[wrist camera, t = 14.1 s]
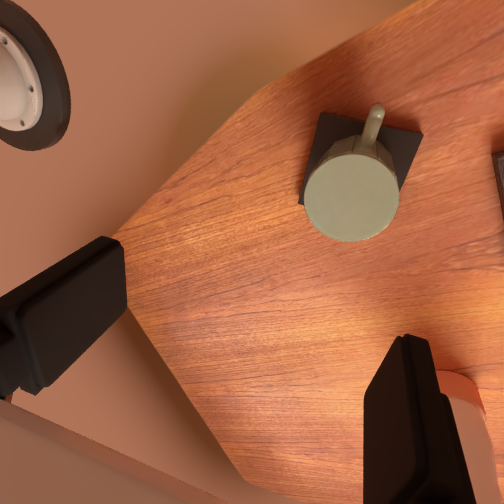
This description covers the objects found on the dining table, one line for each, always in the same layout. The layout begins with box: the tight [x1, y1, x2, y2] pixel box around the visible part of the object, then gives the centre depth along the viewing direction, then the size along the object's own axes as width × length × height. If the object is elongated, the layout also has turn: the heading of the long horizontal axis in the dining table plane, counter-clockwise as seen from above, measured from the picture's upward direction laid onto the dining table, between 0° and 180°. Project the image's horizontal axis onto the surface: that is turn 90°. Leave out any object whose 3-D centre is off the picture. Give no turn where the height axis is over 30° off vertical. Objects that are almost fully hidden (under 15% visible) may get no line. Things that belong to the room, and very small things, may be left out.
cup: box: [304, 102, 400, 242], centre depth 26 cm, size 7×10×8 cm
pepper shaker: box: [436, 371, 504, 504], centre depth 32 cm, size 7×7×19 cm
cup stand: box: [298, 112, 423, 205], centre depth 28 cm, size 9×9×8 cm
